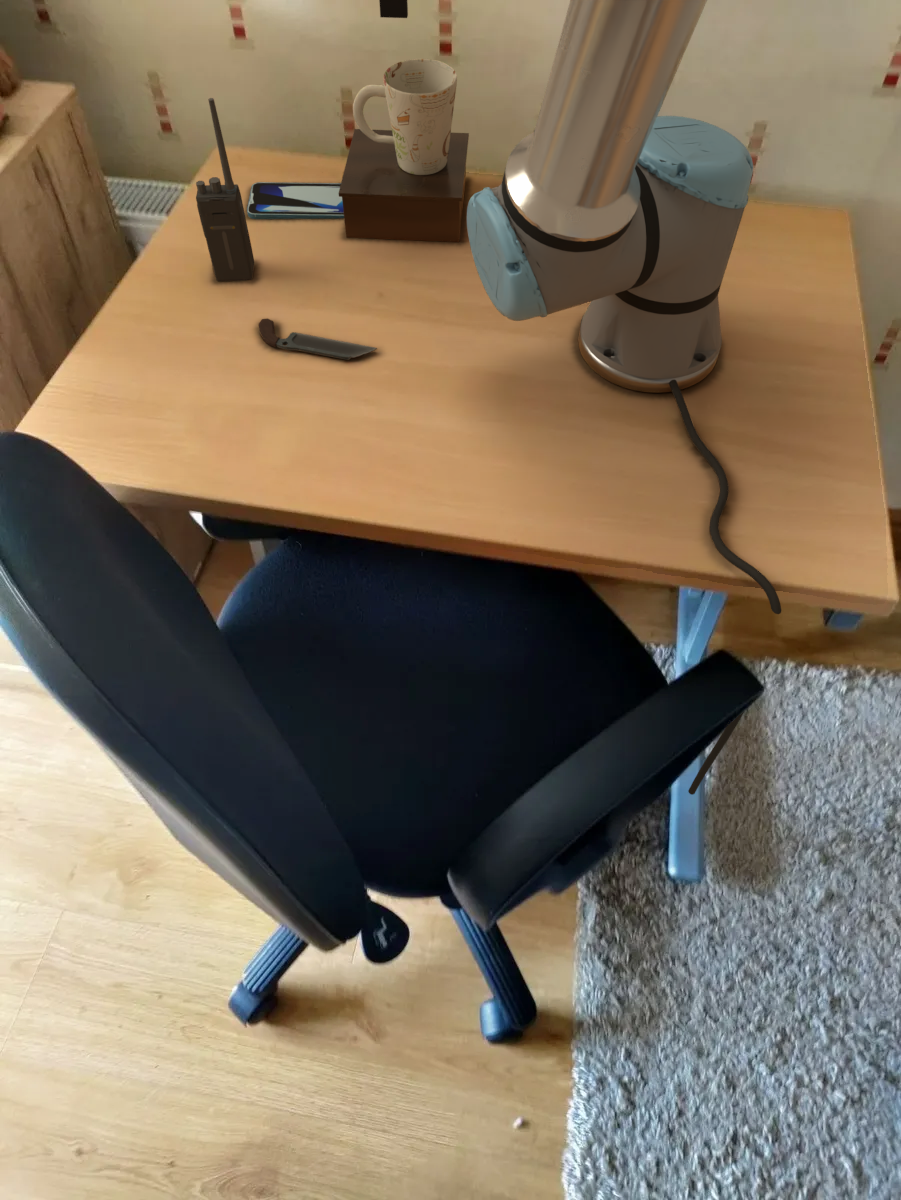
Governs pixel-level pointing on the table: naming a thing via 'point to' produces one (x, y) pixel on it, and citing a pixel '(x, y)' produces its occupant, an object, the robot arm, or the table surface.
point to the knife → (312, 343)
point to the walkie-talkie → (225, 219)
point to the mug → (415, 112)
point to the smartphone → (295, 201)
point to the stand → (402, 193)
